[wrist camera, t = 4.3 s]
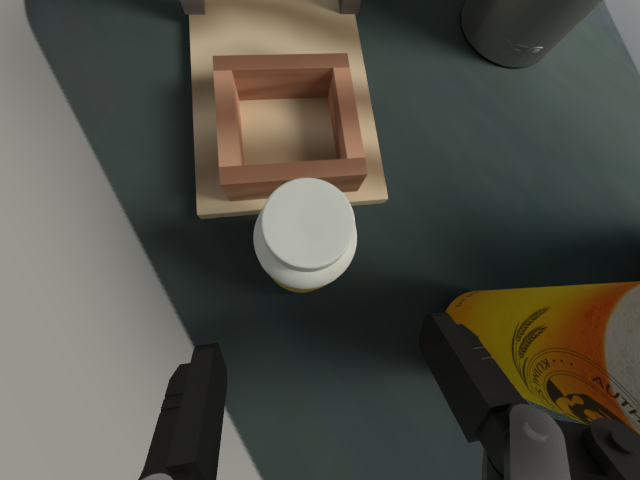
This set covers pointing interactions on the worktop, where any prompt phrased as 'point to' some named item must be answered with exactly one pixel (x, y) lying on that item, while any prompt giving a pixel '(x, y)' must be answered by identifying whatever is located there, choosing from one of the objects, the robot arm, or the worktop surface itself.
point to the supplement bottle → (305, 234)
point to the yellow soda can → (564, 345)
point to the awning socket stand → (279, 102)
